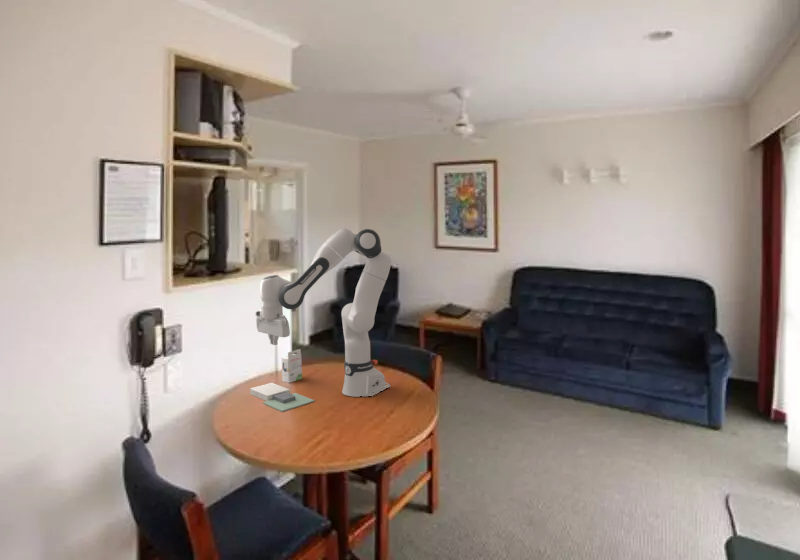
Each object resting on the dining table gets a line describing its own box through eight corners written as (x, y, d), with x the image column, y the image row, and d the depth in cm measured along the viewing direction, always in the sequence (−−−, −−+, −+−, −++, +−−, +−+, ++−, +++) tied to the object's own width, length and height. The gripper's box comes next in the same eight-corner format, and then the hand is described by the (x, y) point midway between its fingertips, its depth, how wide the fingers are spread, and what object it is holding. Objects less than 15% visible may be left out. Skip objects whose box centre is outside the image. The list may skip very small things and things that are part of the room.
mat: (295, 393, 217) (295, 392, 217) (314, 401, 207) (314, 400, 207) (262, 403, 205) (262, 402, 205) (281, 411, 195) (281, 410, 195)
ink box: (295, 376, 241) (294, 347, 239) (302, 378, 238) (301, 348, 237) (281, 381, 234) (280, 351, 232) (288, 383, 231) (287, 352, 230)
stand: (271, 387, 225) (271, 382, 224) (289, 395, 215) (289, 389, 215) (250, 393, 217) (249, 388, 216) (267, 401, 207) (267, 395, 207)
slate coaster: (284, 395, 213) (284, 392, 213) (295, 399, 208) (295, 396, 208) (272, 398, 209) (272, 395, 209) (283, 403, 203) (283, 400, 203)
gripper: (292, 314, 208) (294, 346, 210) (265, 309, 222) (267, 339, 224) (279, 316, 204) (281, 349, 205) (253, 311, 217) (254, 342, 219)
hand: (273, 344), depth 215 cm, fingers closed
